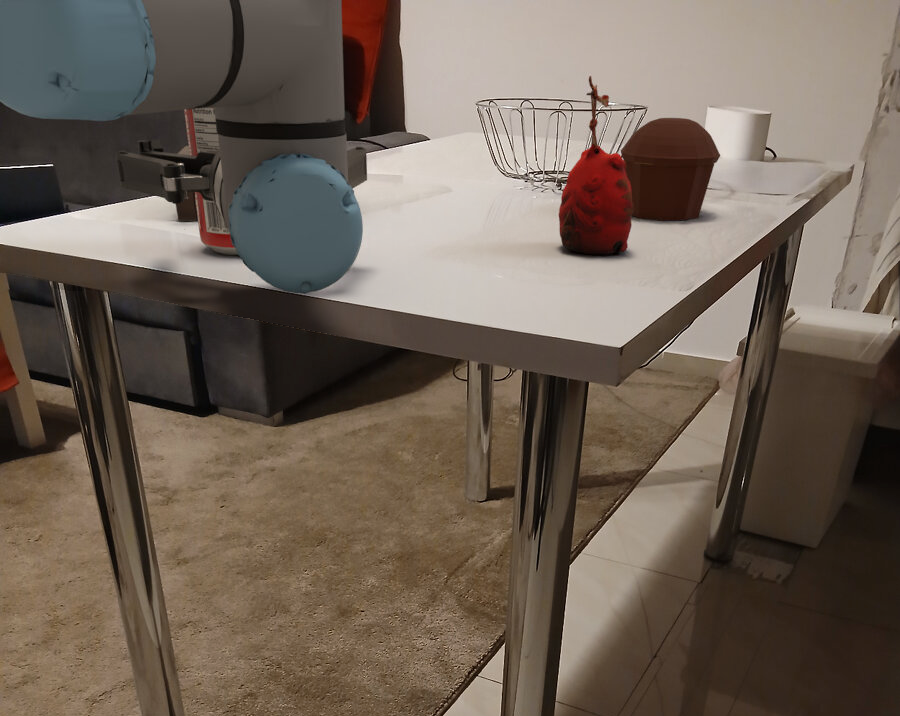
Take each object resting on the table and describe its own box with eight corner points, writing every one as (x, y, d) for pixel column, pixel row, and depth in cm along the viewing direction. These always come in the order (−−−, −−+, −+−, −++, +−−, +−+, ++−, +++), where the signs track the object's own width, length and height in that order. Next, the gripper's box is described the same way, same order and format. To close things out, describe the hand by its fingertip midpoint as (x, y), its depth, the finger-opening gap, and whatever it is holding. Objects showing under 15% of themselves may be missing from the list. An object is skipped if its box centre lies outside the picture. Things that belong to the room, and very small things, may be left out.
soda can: (204, 259, 83) (181, 70, 74) (199, 242, 89) (177, 66, 81) (290, 256, 84) (276, 71, 76) (278, 239, 91) (265, 67, 83)
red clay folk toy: (644, 253, 88) (666, 76, 80) (594, 261, 85) (612, 77, 77) (588, 239, 93) (604, 72, 85) (539, 247, 90) (550, 73, 82)
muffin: (692, 226, 101) (707, 125, 95) (600, 216, 105) (609, 119, 100) (721, 211, 109) (736, 118, 104) (634, 202, 114) (645, 113, 109)
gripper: (91, 256, 62) (98, 205, 79) (436, 240, 69) (373, 196, 86) (69, 134, 58) (80, 108, 75) (437, 130, 65) (371, 107, 82)
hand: (236, 155), depth 80 cm, fingers open, 13 cm apart
